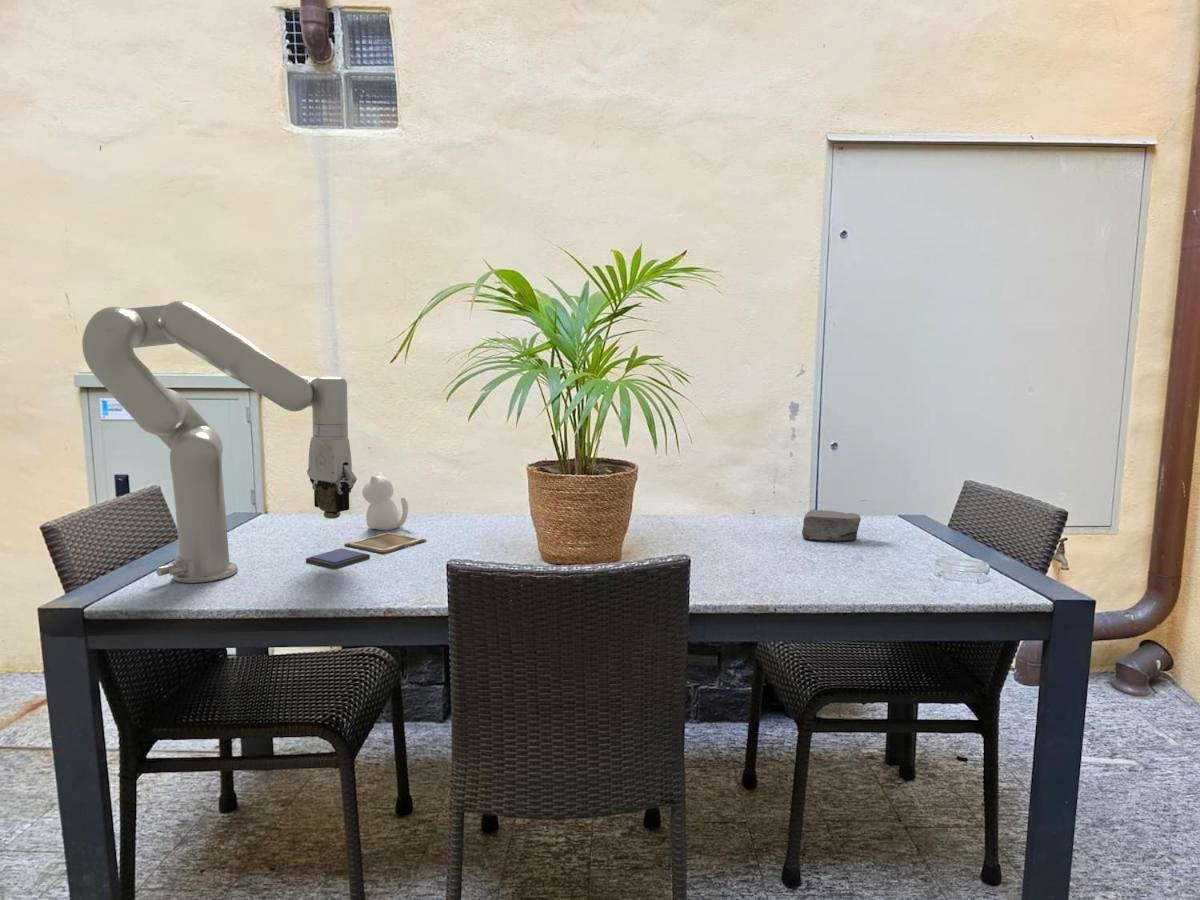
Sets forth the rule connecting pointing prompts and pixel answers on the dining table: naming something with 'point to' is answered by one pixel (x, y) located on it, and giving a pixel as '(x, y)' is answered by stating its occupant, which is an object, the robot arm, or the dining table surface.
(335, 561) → the ink pad
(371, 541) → the marked board
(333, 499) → the cup
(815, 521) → the decorative stone
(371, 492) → the cat figurine
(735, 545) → the dining table surface
